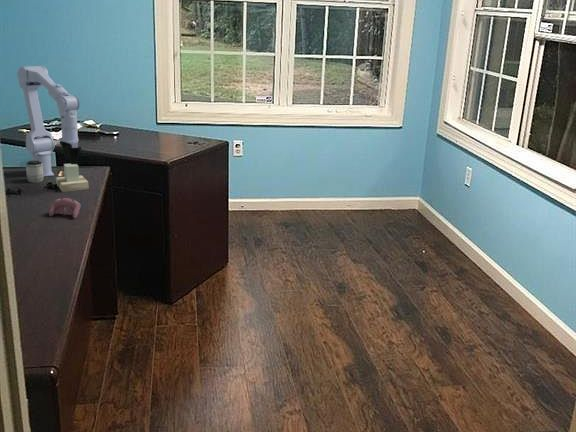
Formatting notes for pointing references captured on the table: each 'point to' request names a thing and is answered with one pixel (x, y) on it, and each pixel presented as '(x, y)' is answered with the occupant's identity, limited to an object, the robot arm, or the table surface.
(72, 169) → the sage block
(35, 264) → the table surface
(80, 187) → the birch block
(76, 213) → the video game controller
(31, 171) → the camera lens
